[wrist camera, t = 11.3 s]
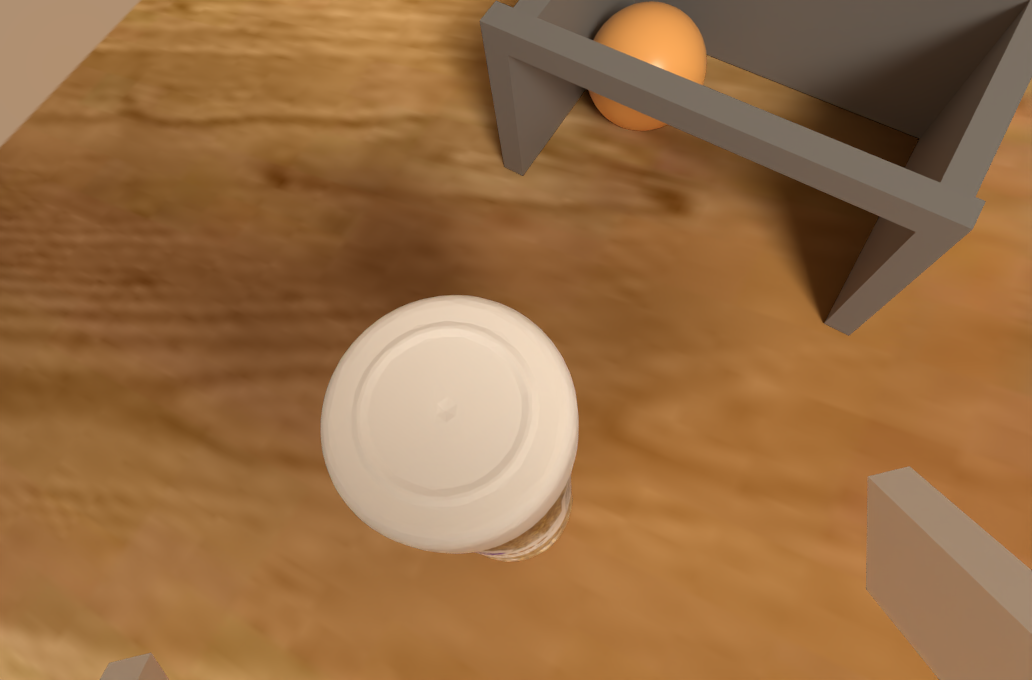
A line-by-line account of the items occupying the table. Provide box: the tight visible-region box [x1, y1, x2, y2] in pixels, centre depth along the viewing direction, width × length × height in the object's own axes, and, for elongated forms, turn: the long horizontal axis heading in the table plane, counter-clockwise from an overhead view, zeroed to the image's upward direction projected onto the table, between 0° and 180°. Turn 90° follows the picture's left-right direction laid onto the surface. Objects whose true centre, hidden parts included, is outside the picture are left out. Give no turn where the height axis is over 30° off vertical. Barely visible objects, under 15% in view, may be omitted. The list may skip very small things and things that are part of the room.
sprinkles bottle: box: [321, 295, 579, 562], centre depth 17 cm, size 5×5×14 cm
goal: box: [480, 0, 1032, 335], centre depth 24 cm, size 16×11×8 cm
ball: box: [589, 1, 707, 131], centre depth 26 cm, size 5×5×5 cm
